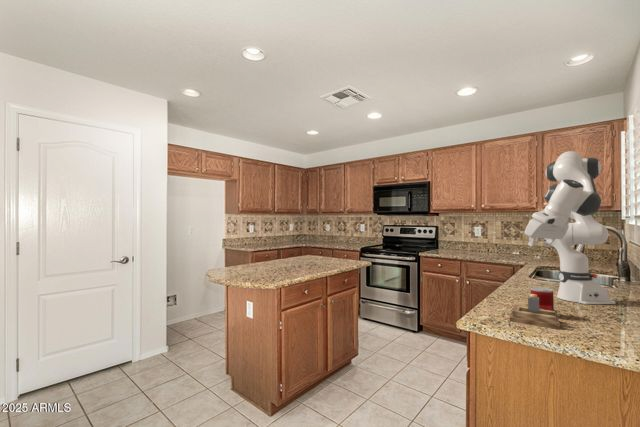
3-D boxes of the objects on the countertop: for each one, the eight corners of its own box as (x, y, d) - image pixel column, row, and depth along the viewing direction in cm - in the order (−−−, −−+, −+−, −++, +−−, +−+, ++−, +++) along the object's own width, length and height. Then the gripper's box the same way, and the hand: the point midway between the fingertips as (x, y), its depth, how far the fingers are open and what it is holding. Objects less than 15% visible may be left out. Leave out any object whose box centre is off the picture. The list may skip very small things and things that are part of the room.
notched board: (558, 321, 122) (558, 311, 122) (559, 329, 113) (559, 318, 113) (511, 313, 131) (511, 304, 131) (509, 320, 122) (509, 311, 123)
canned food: (557, 317, 126) (557, 291, 126) (536, 316, 128) (535, 290, 128) (547, 312, 134) (547, 287, 134) (527, 310, 135) (527, 286, 135)
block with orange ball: (539, 316, 123) (539, 294, 123) (539, 319, 120) (538, 296, 120) (528, 315, 125) (528, 293, 125) (528, 317, 122) (527, 294, 122)
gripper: (563, 215, 132) (547, 243, 138) (530, 213, 126) (515, 241, 131) (577, 222, 127) (561, 250, 132) (544, 219, 120) (527, 249, 126)
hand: (538, 246), depth 132 cm, fingers open, 8 cm apart
